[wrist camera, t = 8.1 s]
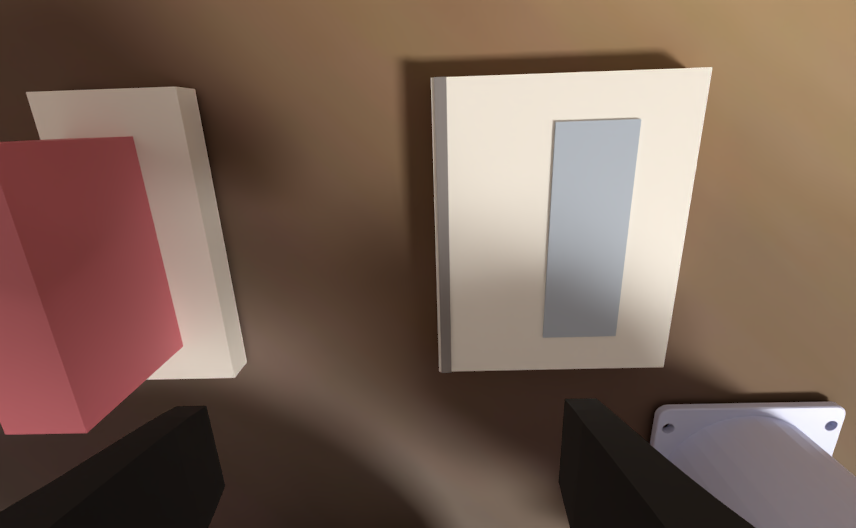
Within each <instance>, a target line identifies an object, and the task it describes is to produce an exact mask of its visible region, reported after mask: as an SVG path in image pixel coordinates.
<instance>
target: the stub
mask: <svg viewBox="0 0 856 528" xmlns="http://www.w3.org/2000/svg"><path fill="white" fill-rule="evenodd" d="M26 95H27V98H28V101H29V104H30V108H31V111H32V114H33V117H34V121H35V124H36V127H37V130H38V134H39V137H40V140H28V141H9V142H0V423H1V425H2V428H3V430H4V433H5V435H13V434H72V433H88V432H89V431H90V430H91V429H92V428H93V427H94V426H96V425H97V424H98V423H99V422H100V421H101V420H102V419H103V418H104V417H105V416H107V415H108V414H109V413H110V412H111V411H112V410H113V409H114V408H115V407H117V406H118V405H119V404H120V403H121V402H122V401H123V400H124V399H125V398H127V397H128V396H129V395H130V394H131V393H132V392H133V391H134V390H135V389H136V388H138V387H139V386H140V385H141V384H142V383H143V382H144V381H145V380H152V379H202V378H235V377H236V376H237V374H238V373H239V372H240V370H241V369H242V368H243V367H244V365H245V364H246V363H247V359H246V354H245V349H244V344H243V338H242V333H241V328H240V323H239V317H238V312H237V307H236V302H235V296H234V291H233V286H232V281H231V275H230V270H229V265H228V260H227V254H226V249H225V244H224V239H223V233H222V228H221V223H220V218H219V212H218V207H217V202H216V197H215V191H214V186H213V181H212V176H211V170H210V165H209V160H208V155H207V149H206V144H205V139H204V133H203V128H202V123H201V118H200V112H199V107H198V102H197V97H196V91H195V89H191V88H183V87H148V88H121V89H94V90H67V91H39V92H26Z"/></svg>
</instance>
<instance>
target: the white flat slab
mask: <svg viewBox="0 0 856 528" xmlns="http://www.w3.org/2000/svg"><path fill="white" fill-rule="evenodd" d="M711 73H712V67H706V68H679V69H651V70H624V71H597V72H569V73H542V74H515V75H487V76H460V77H433V78H431V101H432V137H433V173H434V209H435V244H436V280H437V316H438V351H439V372H442V373H451V371H499V370H548V369H598V368H648V367H664V361H665V355H666V349H667V343H668V337H669V331H670V325H671V318H672V312H673V306H674V300H675V294H676V288H677V282H678V276H679V269H680V263H681V257H682V251H683V245H684V239H685V233H686V226H687V220H688V214H689V208H690V202H691V196H692V190H693V183H694V177H695V171H696V165H697V159H698V153H699V147H700V141H701V134H702V128H703V122H704V116H705V110H706V104H707V98H708V91H709V85H710V79H711Z"/></svg>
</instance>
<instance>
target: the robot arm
mask: <svg viewBox="0 0 856 528" xmlns="http://www.w3.org/2000/svg"><path fill="white" fill-rule="evenodd" d="M844 418H845V410H844V408H842V407H841V406H840V405H838V404H837V403H835V402H775V403H720V404H667V405H663V406H661V407H659V408H658V409H657V410H656V412H655V415H654V421H653V427H652V433H651V439H650V444H649V443H648V442H647V441H645V440H644V439H643V438H642V437H641V436H640V435H638V434H637V433H636V432H635V431H634V430H633V429H631V428H630V427H629V426H628V425H627V424H626V423H625V422H623V421H622V420H621V419H620V418H619V417H618V416H616V415H615V414H614V413H613V412H612V411H611V410H609V409H608V408H607V407H606V406H605V405H604V404H602V403H601V402H600V401H599V400H597V399H565V404H564V418H563V431H562V445H561V458H560V472H559V484H560V489H561V493H562V497H563V501H564V505H565V509H566V513H567V517H568V521H569V525H570V528H856V477H855V476H854V475H853V474H852V473H851V472H850V471H848V470H847V469H846V468H845V467H844V466H842V465H841V464H840V463H839V462H838V461H837V460H835V459H834V458H833V457H832V454H833V451H834V448H835V445H836V442H837V439H838V436H839V433H840V430H841V427H842V424H843V421H844ZM666 424H669V425H668V426H667V427H663V426H664V425H666ZM224 487H225V483H224V479H223V475H222V471H221V467H220V462H219V458H218V454H217V450H216V445H215V441H214V437H213V433H212V428H211V424H210V420H209V416H208V412H207V407H206V406H178V407H175V408H173V409H171V410H169V411H167V412H165V413H164V414H162V415H160V416H158V417H157V418H155V419H153V420H151V421H150V422H148V423H146V424H145V425H143V426H141V427H140V428H138V429H136V430H135V431H133V432H132V433H130V434H128V435H127V436H125V437H123V438H122V439H120V440H119V441H117V442H115V443H114V444H112V445H111V446H109V447H107V448H106V449H104V450H102V451H101V452H99V453H98V454H96V455H94V456H93V457H91V458H89V459H88V460H86V461H85V462H83V463H81V464H80V465H78V466H77V467H75V468H73V469H72V470H70V471H68V472H67V473H65V474H64V475H62V476H60V477H59V478H57V479H56V480H54V481H52V482H51V483H49V484H47V485H46V486H44V487H42V488H40V489H39V490H37V491H35V492H34V493H32V494H30V495H28V496H27V497H25V498H23V499H22V500H20V501H18V502H17V503H15V504H13V505H11V506H10V507H8V508H6V509H5V510H3V511H1V512H0V528H208V527H209V524H210V522H211V520H212V517H213V515H214V513H215V510H216V508H217V505H218V503H219V500H220V497H221V495H222V492H223V490H224Z"/></svg>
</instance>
